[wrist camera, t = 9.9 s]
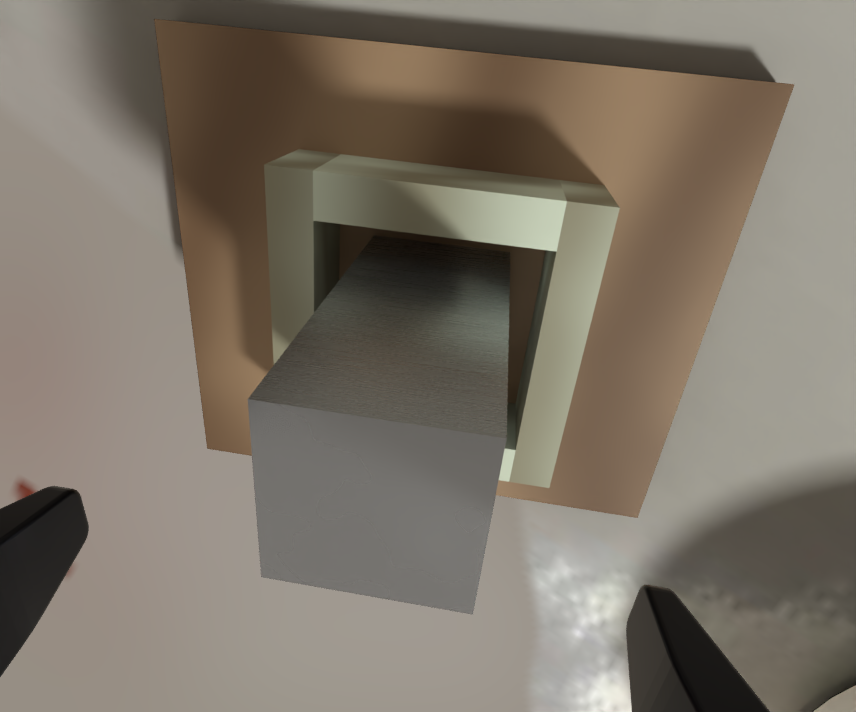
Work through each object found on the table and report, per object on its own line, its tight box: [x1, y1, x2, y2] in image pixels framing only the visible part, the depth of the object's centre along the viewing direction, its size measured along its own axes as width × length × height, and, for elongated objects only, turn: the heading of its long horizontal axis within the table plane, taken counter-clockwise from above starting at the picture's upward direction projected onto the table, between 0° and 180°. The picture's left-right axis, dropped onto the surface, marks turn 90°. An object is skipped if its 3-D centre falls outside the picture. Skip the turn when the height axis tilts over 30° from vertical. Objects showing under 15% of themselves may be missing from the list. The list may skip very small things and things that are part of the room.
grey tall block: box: [248, 235, 511, 614], centre depth 13 cm, size 4×4×9 cm
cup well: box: [154, 19, 794, 518], centre depth 17 cm, size 16×14×4 cm
